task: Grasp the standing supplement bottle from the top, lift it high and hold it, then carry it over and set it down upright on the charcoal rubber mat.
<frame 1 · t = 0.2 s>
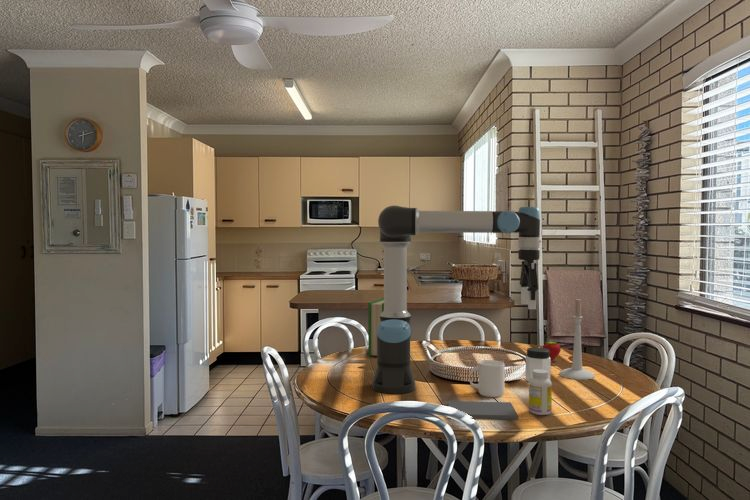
hand: (528, 306, 210), 28 cm above the table, tool pointing down, fingers open, 13 cm apart
supplement bottle: (540, 412, 175), on the table
jar: (537, 382, 211), on the table
hardback book: (383, 353, 258), on the table
strawberry: (551, 361, 244), on the table
candlestick: (577, 376, 220), on the table
mug: (486, 394, 195), on the table
mat: (481, 411, 176), on the table
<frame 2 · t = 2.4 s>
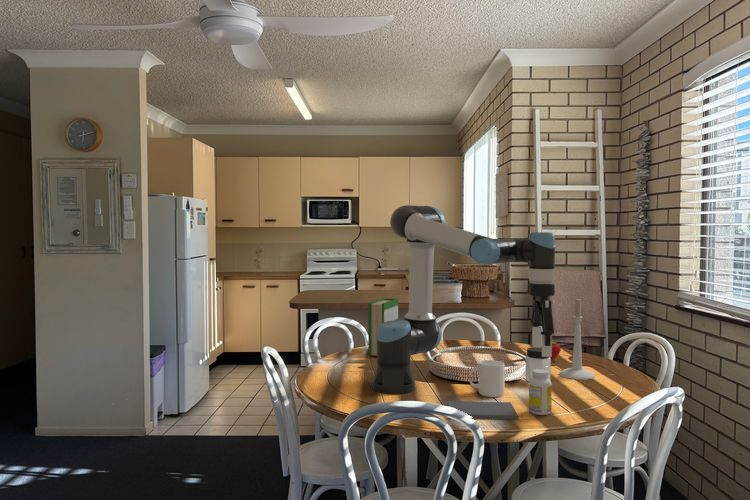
hand: (541, 351, 175), 19 cm above the table, tool pointing down, fingers open, 13 cm apart
nothing on the table moved.
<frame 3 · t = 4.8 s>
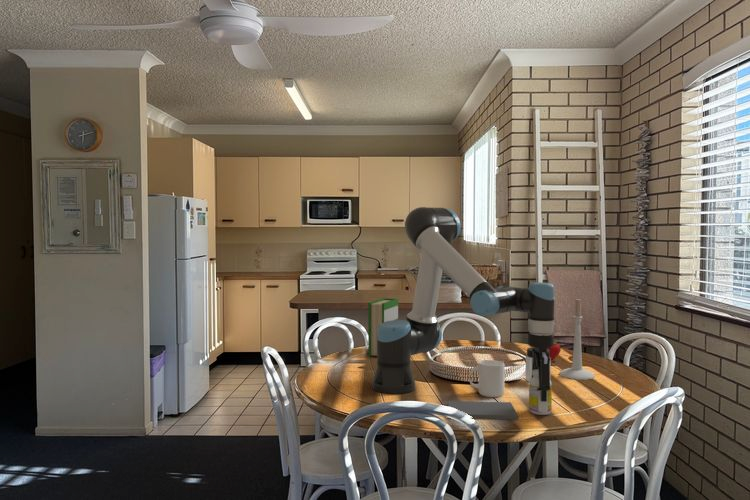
hand: (540, 407, 175), 2 cm above the table, tool pointing down, fingers closed on supplement bottle, 7 cm apart
supplement bottle: (540, 412, 175), on the table, touching gripper
everything else where it was.
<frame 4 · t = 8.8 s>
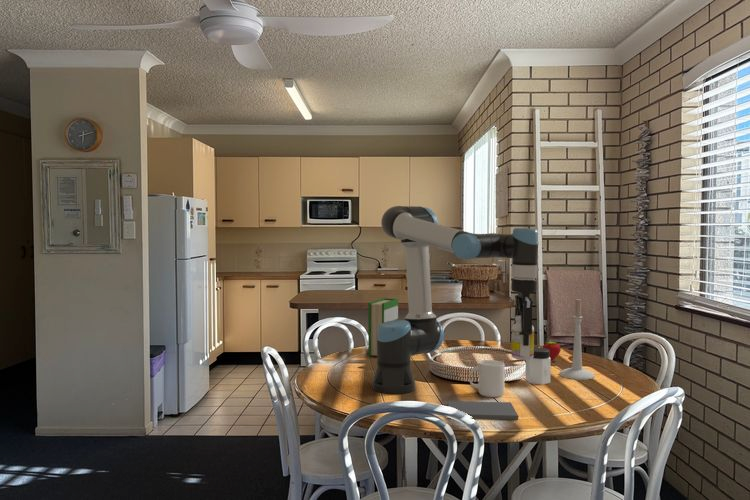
hand: (522, 352, 175), 18 cm above the table, tool pointing down, fingers closed on supplement bottle, 7 cm apart
supplement bottle: (522, 358, 175), point 17 cm above the table, touching gripper
everything else where it was.
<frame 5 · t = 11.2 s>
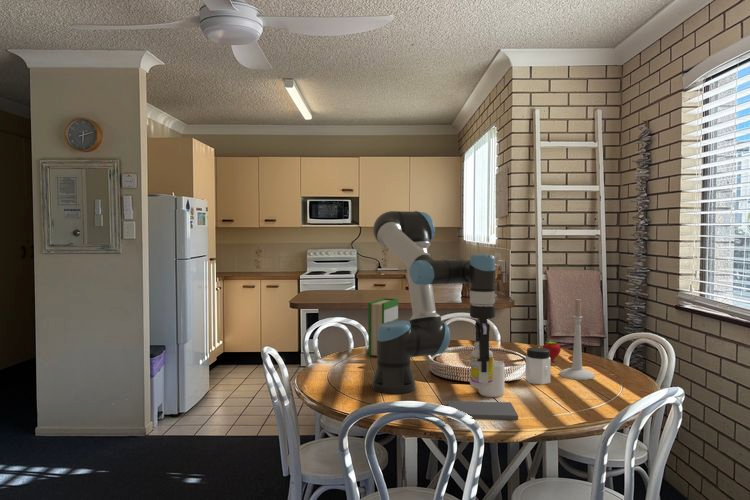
hand: (482, 379, 175), 10 cm above the table, tool pointing down, fingers closed on supplement bottle, 7 cm apart
supplement bottle: (481, 384, 175), point 9 cm above the table, touching gripper
everything else where it was.
when the fingers open (5 cm above the table, at t = 13.0 s): supplement bottle drops 2 cm, resting on mat.
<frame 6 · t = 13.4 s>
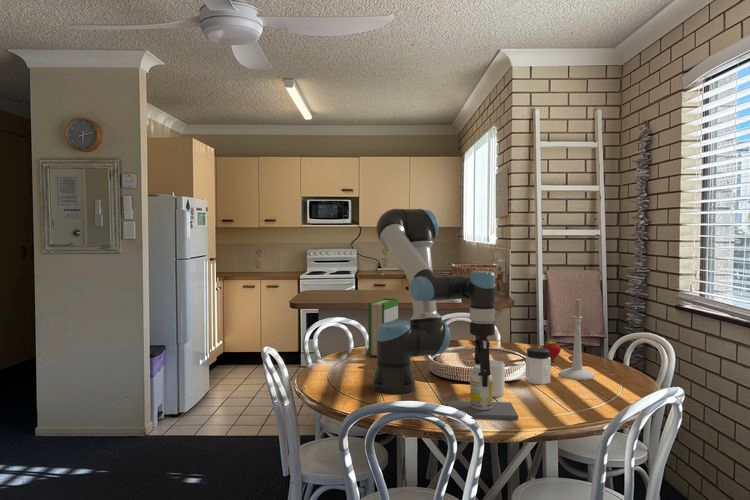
hand: (481, 390, 175), 7 cm above the table, tool pointing down, fingers open, 12 cm apart
supplement bottle: (481, 408, 176), point 1 cm above the table, touching mat
everything else where it was.
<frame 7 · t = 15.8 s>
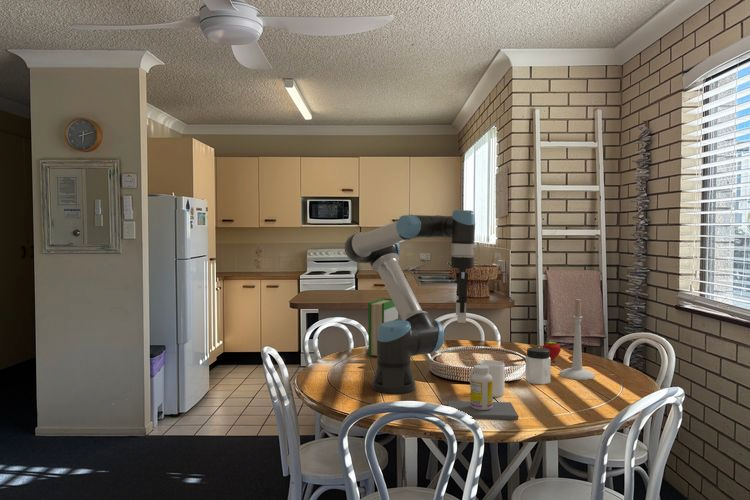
hand: (460, 318, 193), 26 cm above the table, tool pointing down, fingers open, 13 cm apart
nothing on the table moved.
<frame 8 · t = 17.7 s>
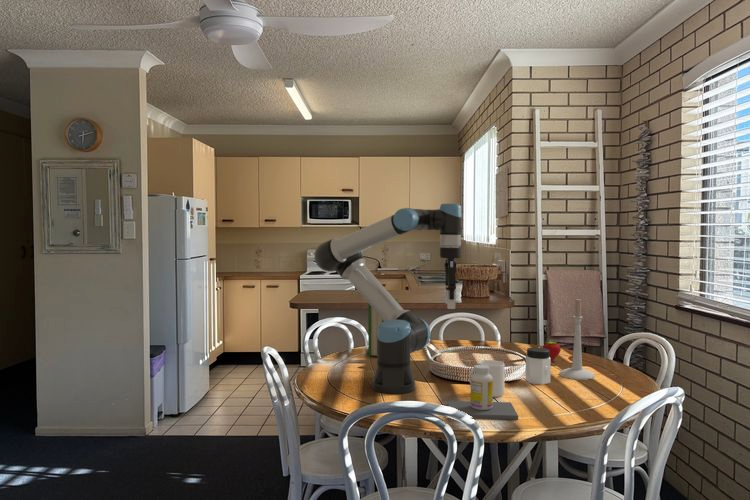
hand: (450, 306, 204), 29 cm above the table, tool pointing down, fingers open, 13 cm apart
nothing on the table moved.
at the end: supplement bottle inside the target area on the mat (0.3 cm from its centre), point 1.0 cm above the mat's base; supplement bottle tilted 0°; the gripper is holding nothing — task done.
